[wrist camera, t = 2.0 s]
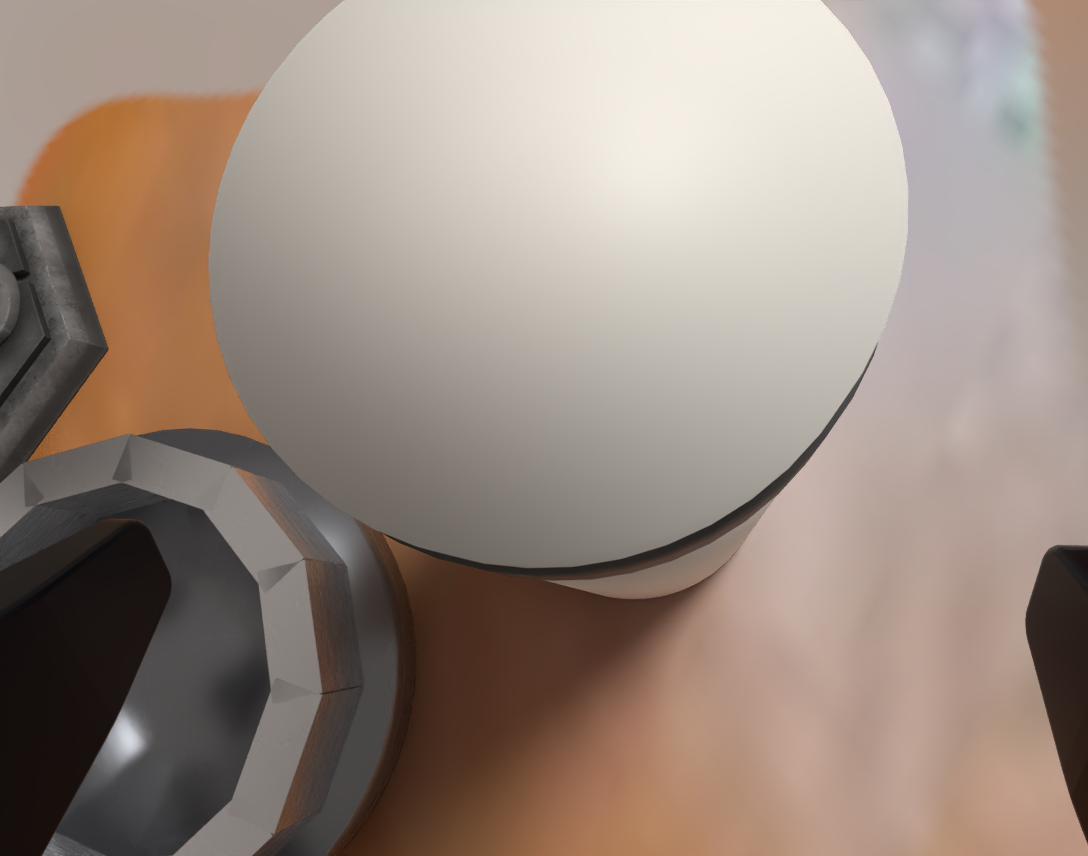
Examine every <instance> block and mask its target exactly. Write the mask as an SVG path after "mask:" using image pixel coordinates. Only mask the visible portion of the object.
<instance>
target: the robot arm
mask: <svg viewBox="0 0 1088 856" xmlns="http://www.w3.org/2000/svg"><path fill="white" fill-rule="evenodd" d="M171 590H172V579H171V575H170V572H169V569H168V567H167V565H166V563H165V561H164V558H163V556H162V554H161V552H160V550H159V547H158V545H157V543H156V541H155V539H154V536H153V534H152V532H151V530H150V528H149V527H148V526H147V525H146V524H145V523H144V522H143V521H139V520H136V519H105V520H101V521H99V522H97V523H95V524H93V525H91V526H89V527H87V528H85V529H83V530H81V531H79V532H77V533H75V534H73V535H71V536H69V537H67V538H65V539H63V540H61V541H59V542H57V543H55V544H53V545H51V546H49V547H47V548H45V549H43V550H41V551H39V552H37V553H35V554H33V555H31V556H29V557H27V558H25V559H23V560H21V561H19V562H17V563H15V564H13V565H11V566H9V567H7V568H5V569H3V570H1V571H0V856H42V855H43V853H44V852H45V850H46V848H47V846H48V844H49V843H50V841H51V839H52V837H53V835H54V834H55V832H56V830H57V828H58V826H59V824H60V823H61V821H62V819H63V817H64V815H65V814H66V812H67V810H68V808H69V806H70V804H71V803H72V801H73V799H74V797H75V795H76V794H77V792H78V790H79V788H80V786H81V785H82V783H83V781H84V779H85V777H86V775H87V774H88V772H89V770H90V768H91V766H92V765H93V763H94V761H95V759H96V757H97V755H98V754H99V752H100V750H101V748H102V746H103V745H104V743H105V741H106V739H107V737H108V735H109V733H110V731H111V729H112V727H113V725H114V724H115V722H116V719H117V717H118V715H119V713H120V711H121V709H122V706H123V704H124V702H125V700H126V697H127V695H128V693H129V691H130V688H131V686H132V684H133V681H134V679H135V677H136V674H137V672H138V670H139V667H140V665H141V663H142V661H143V658H144V656H145V654H146V651H147V649H148V647H149V644H150V642H151V640H152V637H153V635H154V633H155V631H156V628H157V626H158V624H159V621H160V619H161V617H162V614H163V612H164V610H165V607H166V605H167V603H168V601H169V598H170V595H171ZM1025 626H1026V635H1027V640H1028V644H1029V647H1030V651H1031V655H1032V659H1033V662H1034V666H1035V670H1036V674H1037V677H1038V681H1039V685H1040V689H1041V692H1042V696H1043V700H1044V704H1045V707H1046V711H1047V715H1048V719H1049V722H1050V726H1051V730H1052V734H1053V737H1054V741H1055V745H1056V749H1057V752H1058V756H1059V760H1060V764H1061V767H1062V771H1063V774H1064V778H1065V781H1066V785H1067V788H1068V791H1069V795H1070V798H1071V801H1072V804H1073V806H1074V809H1075V812H1076V815H1077V817H1078V820H1079V823H1080V826H1081V828H1082V831H1083V833H1084V836H1085V838H1086V841H1087V843H1088V546H1080V545H1056V546H1053V547H1051V548H1050V549H1048V551H1047V552H1046V553H1045V555H1044V557H1043V559H1042V562H1041V566H1040V569H1039V572H1038V575H1037V579H1036V582H1035V585H1034V588H1033V591H1032V595H1031V598H1030V601H1029V604H1028V608H1027V612H1026V619H1025Z"/></svg>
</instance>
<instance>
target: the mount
mask: <svg viewBox="0 0 1088 856" xmlns="http://www.w3.org/2000/svg"><path fill="white" fill-rule="evenodd" d="M105 519H136V520H139V521H143V522H144V523H145V524H146V525H147V526H148V527H149V528H150V530H151V532H152V534H153V536H154V539H155V541H156V543H157V545H158V547H159V550H160V552H161V554H162V556H163V558H164V561H165V563H166V565H167V567H168V569H169V572H170V575H171V579H172V590H171V595H170V598H169V601H168V603H167V605H166V607H165V610H164V612H163V614H162V617H161V619H160V621H159V624H158V626H157V628H156V631H155V633H154V635H153V637H152V640H151V642H150V644H149V647H148V649H147V651H146V654H145V656H144V658H143V661H142V663H141V665H140V667H139V670H138V672H137V674H136V677H135V679H134V681H133V684H132V686H131V688H130V691H129V693H128V695H127V697H126V700H125V702H124V704H123V706H122V709H121V711H120V713H119V715H118V717H117V719H116V722H115V724H114V725H113V727H112V729H111V731H110V733H109V735H108V737H107V739H106V741H105V743H104V745H103V746H102V748H101V750H100V752H99V754H98V755H97V757H96V759H95V761H94V763H93V765H92V766H91V768H90V770H89V772H88V774H87V775H86V777H85V779H84V781H83V783H82V785H81V786H80V788H79V790H78V792H77V794H76V795H75V797H74V799H73V801H72V803H71V804H70V806H69V808H68V810H67V812H66V814H65V815H64V817H63V819H62V821H61V823H60V824H59V826H58V828H57V830H56V832H55V834H54V835H53V837H52V839H51V841H50V843H49V844H48V846H47V848H46V850H45V852H44V853H43V855H42V856H337V855H338V854H339V853H340V852H341V851H342V850H343V849H344V848H345V846H346V845H347V844H348V843H349V842H350V841H351V840H352V839H353V838H354V836H355V835H356V833H357V832H358V831H359V829H360V828H361V826H362V825H363V823H364V822H365V821H366V819H367V818H368V816H369V815H370V814H371V812H372V811H373V809H374V807H375V805H376V804H377V802H378V800H379V798H380V796H381V794H382V792H383V791H384V789H385V787H386V785H387V783H388V781H389V779H390V777H391V774H392V772H393V769H394V767H395V764H396V761H397V759H398V756H399V754H400V751H401V749H402V745H403V742H404V738H405V734H406V730H407V726H408V722H409V719H410V715H411V707H412V700H413V693H414V686H415V659H416V647H415V637H414V628H413V618H412V613H411V608H410V604H409V600H408V596H407V591H406V587H405V584H404V581H403V578H402V576H401V573H400V570H399V568H398V565H397V562H396V560H395V557H394V555H393V553H392V551H391V550H390V548H389V546H388V544H387V542H386V540H385V538H384V536H383V534H382V533H381V532H379V531H377V530H374V529H373V528H371V527H369V526H367V525H366V524H364V523H362V522H360V521H359V520H357V519H355V518H354V517H352V516H350V515H348V514H347V513H345V512H343V511H342V510H340V509H338V508H336V507H335V506H334V505H332V504H331V503H330V502H328V501H327V500H326V499H325V498H323V497H322V496H321V495H320V494H318V493H317V492H316V491H315V490H313V489H312V488H311V487H310V486H308V485H307V484H306V483H305V482H303V481H302V480H301V479H300V478H299V477H298V476H297V475H296V474H295V473H294V472H293V471H292V470H291V469H290V467H289V466H288V465H287V464H286V463H285V462H284V461H283V460H282V459H281V458H280V457H279V456H278V455H277V454H276V453H275V452H274V450H273V449H272V448H271V447H270V446H268V445H265V444H263V443H260V442H258V441H255V440H253V439H250V438H247V437H245V436H240V435H236V434H231V433H227V432H222V431H218V430H205V429H192V428H190V429H174V430H162V431H157V432H152V433H147V434H142V435H137V436H136V435H132V434H126V435H123V436H119V437H115V438H112V439H108V440H104V441H101V442H97V443H93V444H90V445H86V446H83V447H79V448H75V449H72V450H68V451H64V452H61V453H57V454H53V455H50V456H46V457H42V458H39V459H35V460H31V461H28V462H24V463H23V464H21V465H20V466H19V467H17V468H16V469H15V470H14V471H13V472H12V473H11V474H10V475H9V476H8V477H7V478H5V479H4V480H3V481H2V482H1V483H0V571H1V570H3V569H5V568H7V567H9V566H11V565H13V564H15V563H17V562H19V561H21V560H23V559H25V558H27V557H29V556H31V555H33V554H35V553H37V552H39V551H41V550H43V549H45V548H47V547H49V546H51V545H53V544H55V543H57V542H59V541H61V540H63V539H65V538H67V537H69V536H71V535H73V534H75V533H77V532H79V531H81V530H83V529H85V528H87V527H89V526H91V525H93V524H95V523H97V522H99V521H101V520H105Z"/></svg>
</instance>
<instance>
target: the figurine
mask: <svg viewBox="0 0 1088 856" xmlns="http://www.w3.org/2000/svg"><path fill="white" fill-rule="evenodd" d="M107 350H108V346H107V343H106V340H105V337H104V334H103V332H102V329H101V326H100V323H99V320H98V317H97V314H96V311H95V308H94V305H93V302H92V300H91V297H90V294H89V291H88V288H87V285H86V282H85V279H84V276H83V273H82V271H81V268H80V265H79V262H78V259H77V256H76V253H75V250H74V247H73V244H72V241H71V239H70V236H69V233H68V230H67V227H66V224H65V221H64V218H63V215H62V212H61V209H60V207H59V206H11V207H0V483H1V482H2V481H3V480H4V479H5V478H7V477H8V476H9V475H10V474H11V473H12V472H13V471H14V470H15V469H16V468H17V467H19V466H20V465H21V464H23V463H24V462H27V460H28V459H29V457H30V456H31V455H32V453H33V452H34V451H35V449H36V448H37V446H38V445H39V444H40V442H41V441H42V440H43V438H44V437H45V435H46V434H47V433H48V431H49V430H50V429H51V427H52V426H53V424H54V423H55V422H56V420H57V419H58V417H59V416H60V415H61V413H62V412H63V411H64V409H65V408H66V406H67V405H68V404H69V402H70V401H71V400H72V398H73V397H74V395H75V394H76V393H77V391H78V390H79V389H80V387H81V386H82V384H83V383H84V382H85V380H86V379H87V378H88V376H89V375H90V373H91V372H92V371H93V369H94V368H95V367H96V365H97V364H98V362H99V361H100V360H101V358H102V357H103V356H104V354H105V353H106V351H107Z"/></svg>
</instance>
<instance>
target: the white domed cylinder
mask: <svg viewBox="0 0 1088 856" xmlns="http://www.w3.org/2000/svg"><path fill="white" fill-rule="evenodd" d="M907 236H908V184H907V177H906V170H905V163H904V155H903V148H902V143H901V140H900V136H899V133H898V130H897V127H896V123H895V120H894V117H893V113H892V110H891V107H890V103H889V101H888V99H887V97H886V95H885V93H884V91H883V89H882V86H881V84H880V82H879V80H878V78H877V76H876V74H875V72H874V70H873V68H872V66H871V64H870V62H869V61H868V59H867V58H866V56H865V55H864V53H863V52H862V50H861V49H860V48H859V46H858V45H857V43H856V42H855V40H854V39H853V37H852V36H851V34H850V33H849V31H848V30H847V29H846V27H845V26H844V25H843V24H842V23H841V22H840V21H839V20H838V19H837V18H836V17H835V16H834V14H833V13H832V12H831V11H830V10H829V9H828V8H827V7H826V6H825V5H824V4H823V3H822V2H821V0H344V1H343V2H342V3H340V4H339V5H338V6H337V7H335V8H334V9H333V10H332V11H331V12H329V13H328V14H327V15H326V16H325V17H324V18H323V19H322V20H321V21H320V22H319V23H318V24H317V25H316V26H315V27H314V28H313V29H312V30H311V31H310V32H309V33H308V34H307V35H306V36H305V37H304V38H303V39H302V40H301V41H300V42H299V43H298V44H297V45H296V46H295V48H294V49H293V50H292V52H291V53H290V54H289V55H288V57H287V58H286V59H285V60H284V62H283V63H282V64H281V65H280V67H279V68H278V69H277V70H276V72H275V73H274V74H273V75H272V77H271V78H270V80H269V81H268V83H267V85H266V86H265V88H264V89H263V91H262V93H261V94H260V96H259V97H258V99H257V100H256V102H255V104H254V105H253V107H252V108H251V110H250V112H249V114H248V116H247V118H246V120H245V122H244V124H243V126H242V129H241V131H240V133H239V135H238V137H237V139H236V141H235V143H234V145H233V148H232V151H231V154H230V156H229V159H228V162H227V165H226V168H225V171H224V174H223V177H222V179H221V182H220V186H219V191H218V196H217V200H216V205H215V210H214V214H213V219H212V226H211V237H210V249H209V260H208V263H209V286H210V303H211V308H212V314H213V319H214V325H215V330H216V336H217V341H218V344H219V347H220V350H221V353H222V356H223V359H224V362H225V365H226V368H227V371H228V374H229V377H230V379H231V381H232V383H233V385H234V387H235V389H236V391H237V393H238V395H239V397H240V399H241V401H242V403H243V405H244V407H245V409H246V411H247V413H248V415H249V417H250V418H251V419H252V421H253V422H254V424H255V425H256V427H257V428H258V430H259V431H260V432H261V434H262V435H263V437H264V438H265V440H266V441H267V442H268V444H269V445H270V447H271V448H272V449H273V450H274V452H275V453H276V454H277V455H278V456H279V457H280V458H281V459H282V460H283V461H284V462H285V463H286V464H287V465H288V466H289V467H290V469H291V470H292V471H293V472H294V473H295V474H296V475H297V476H298V477H299V478H300V479H301V480H302V481H303V482H305V483H306V484H307V485H308V486H310V487H311V488H312V489H313V490H315V491H316V492H317V493H318V494H320V495H321V496H322V497H323V498H325V499H326V500H327V501H328V502H330V503H331V504H332V505H334V506H335V507H336V508H338V509H340V510H342V511H343V512H345V513H347V514H348V515H350V516H352V517H354V518H355V519H357V520H359V521H360V522H362V523H364V524H366V525H367V526H369V527H371V528H373V529H374V530H377V531H379V532H381V533H383V534H385V535H386V536H388V537H390V538H392V539H393V540H395V541H397V542H399V543H401V544H404V545H406V546H409V547H411V548H414V549H416V550H419V551H421V552H424V553H426V554H428V555H431V556H433V557H436V558H438V559H442V560H446V561H451V562H455V563H459V564H463V565H467V566H471V567H475V568H479V569H483V570H487V571H491V572H495V573H500V574H504V575H508V576H512V577H522V578H531V579H540V580H545V581H549V582H553V583H556V584H560V585H564V586H568V587H572V588H575V589H579V590H583V591H587V592H591V593H594V594H599V595H603V596H607V597H611V598H620V599H649V598H655V597H661V596H666V595H669V594H672V593H676V592H679V591H682V590H684V589H686V588H688V587H691V586H693V585H695V584H697V583H699V582H700V581H702V580H704V579H705V578H707V577H708V576H710V575H712V574H713V573H714V572H715V571H717V570H718V569H719V568H720V567H721V566H723V565H724V564H725V563H726V562H727V561H728V560H729V559H730V558H731V557H732V556H733V554H734V553H735V552H736V551H737V550H738V549H739V547H740V546H741V545H742V543H743V542H744V540H745V539H746V538H747V536H748V535H749V533H750V532H751V531H752V529H753V528H754V526H755V525H756V524H757V522H758V521H759V519H760V518H761V517H762V515H763V514H764V512H765V511H766V510H767V508H768V507H769V505H770V504H771V502H772V501H773V500H774V498H775V497H776V496H777V495H778V494H779V493H780V492H781V490H782V489H783V488H784V487H785V486H786V485H787V484H788V483H789V482H790V481H791V479H792V478H793V477H794V476H795V475H796V474H797V473H798V472H799V471H800V470H801V468H802V467H803V466H804V465H805V464H806V463H807V461H808V460H809V459H810V457H811V456H812V455H813V453H814V452H815V451H816V449H817V448H818V447H819V446H820V444H821V443H822V442H823V440H824V439H825V438H826V436H827V435H828V433H829V432H830V430H831V429H832V427H833V426H834V425H835V423H836V422H837V420H838V419H839V417H840V416H841V414H842V413H843V411H844V410H845V408H846V407H847V406H848V404H849V403H850V401H851V400H852V398H853V396H854V394H855V392H856V390H857V388H858V386H859V384H860V382H861V380H862V378H863V376H864V374H865V372H866V370H867V368H868V366H869V364H870V362H871V360H872V358H873V356H874V353H875V350H876V347H877V344H878V341H879V339H880V337H881V335H882V333H883V331H884V329H885V326H886V323H887V320H888V317H889V314H890V311H891V307H892V304H893V301H894V298H895V295H896V292H897V289H898V286H899V283H900V278H901V272H902V266H903V260H904V254H905V248H906V242H907Z"/></svg>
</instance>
